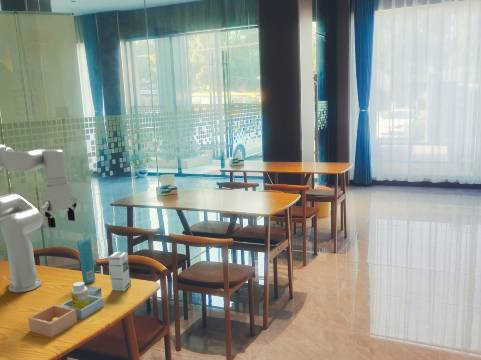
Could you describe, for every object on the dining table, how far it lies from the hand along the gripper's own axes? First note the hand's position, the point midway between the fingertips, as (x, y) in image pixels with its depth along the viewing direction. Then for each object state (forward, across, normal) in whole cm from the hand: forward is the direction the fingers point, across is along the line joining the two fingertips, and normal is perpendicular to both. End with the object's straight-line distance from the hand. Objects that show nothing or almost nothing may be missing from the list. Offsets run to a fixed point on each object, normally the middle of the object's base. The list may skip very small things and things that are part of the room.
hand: (62, 223), depth 182 cm
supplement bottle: (+28, +12, +19) cm, 36 cm away
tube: (+28, -10, 0) cm, 30 cm away
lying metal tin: (+29, +2, +12) cm, 31 cm away
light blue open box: (+28, +12, +19) cm, 36 cm away
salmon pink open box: (+28, +25, +19) cm, 42 cm away
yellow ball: (+28, +24, +20) cm, 42 cm away
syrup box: (+28, -10, +18) cm, 35 cm away
